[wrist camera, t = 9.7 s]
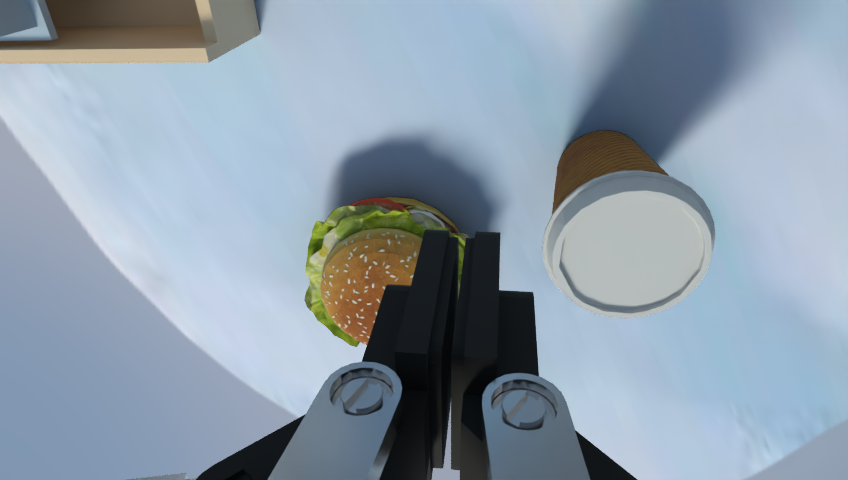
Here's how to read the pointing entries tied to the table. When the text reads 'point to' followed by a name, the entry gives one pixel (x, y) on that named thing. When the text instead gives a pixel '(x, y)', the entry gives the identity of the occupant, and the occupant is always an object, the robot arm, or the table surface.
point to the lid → (25, 21)
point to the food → (367, 260)
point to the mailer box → (138, 32)
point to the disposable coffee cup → (624, 230)
